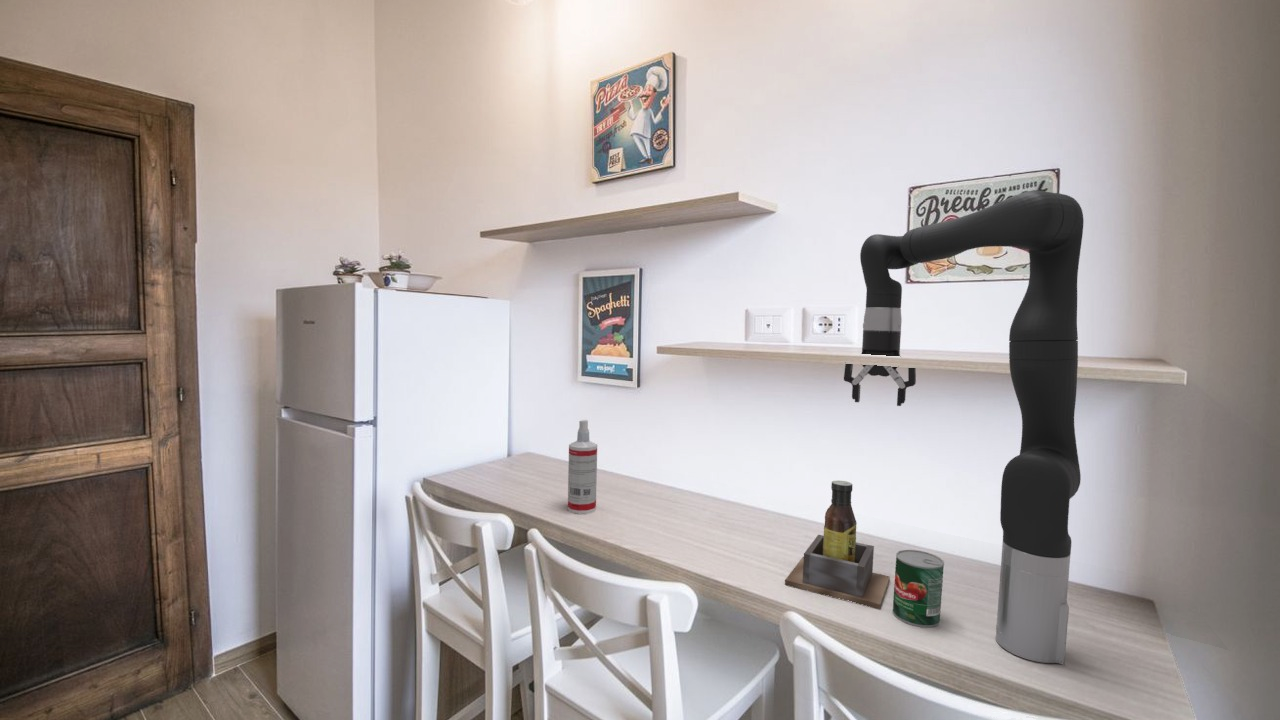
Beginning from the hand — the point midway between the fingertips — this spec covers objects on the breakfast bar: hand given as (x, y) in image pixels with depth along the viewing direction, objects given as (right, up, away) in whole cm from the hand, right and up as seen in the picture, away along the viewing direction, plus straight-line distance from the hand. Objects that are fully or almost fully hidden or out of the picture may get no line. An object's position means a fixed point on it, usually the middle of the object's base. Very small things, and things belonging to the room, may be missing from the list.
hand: (877, 403), depth 124 cm
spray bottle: (-68, -32, +34) cm, 83 cm away
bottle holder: (-11, -36, -7) cm, 39 cm away
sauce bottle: (-11, -36, -7) cm, 38 cm away
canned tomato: (-1, -38, -19) cm, 42 cm away
